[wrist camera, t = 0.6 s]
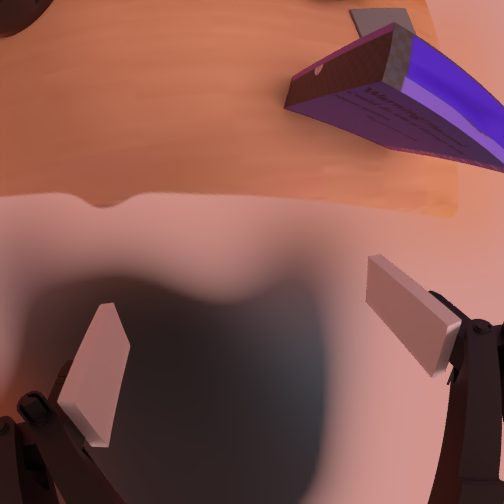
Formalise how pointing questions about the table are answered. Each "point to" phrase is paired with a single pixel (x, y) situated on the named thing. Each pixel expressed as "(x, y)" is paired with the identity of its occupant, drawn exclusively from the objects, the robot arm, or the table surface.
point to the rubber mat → (379, 19)
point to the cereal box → (403, 99)
